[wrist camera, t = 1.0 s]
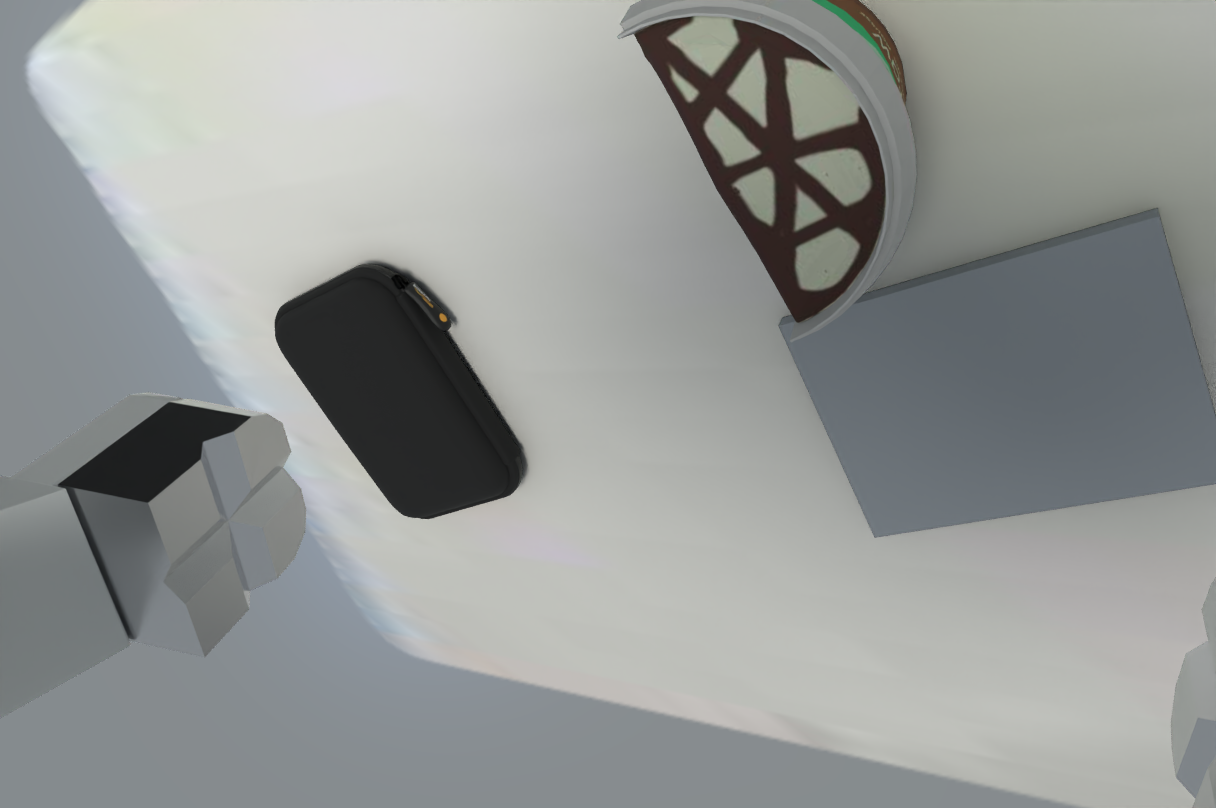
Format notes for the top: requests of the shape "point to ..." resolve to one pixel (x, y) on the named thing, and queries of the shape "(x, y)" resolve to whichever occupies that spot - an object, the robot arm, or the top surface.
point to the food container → (794, 134)
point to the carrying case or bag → (398, 392)
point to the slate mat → (1016, 383)
